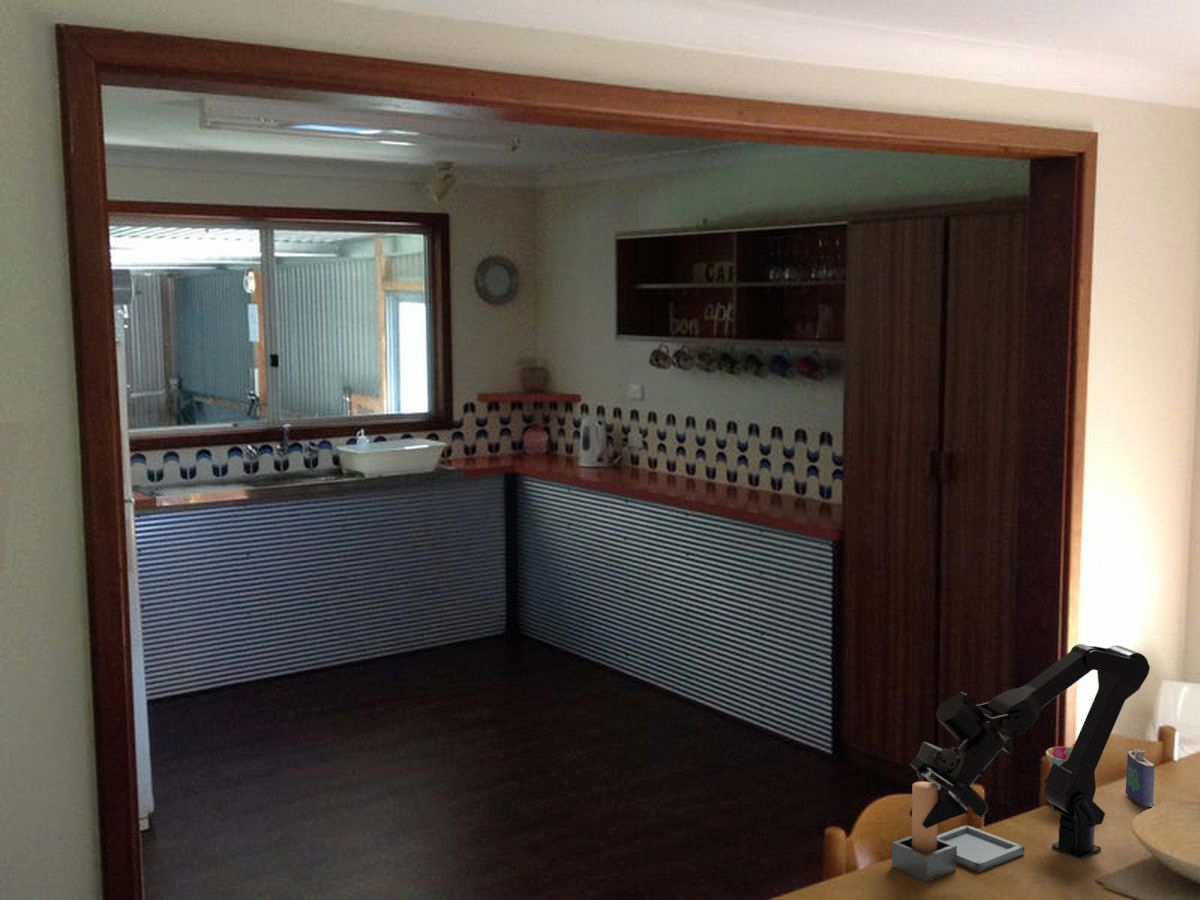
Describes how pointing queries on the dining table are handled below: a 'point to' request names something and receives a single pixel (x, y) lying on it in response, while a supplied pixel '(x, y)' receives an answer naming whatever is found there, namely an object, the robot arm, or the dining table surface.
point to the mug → (1058, 755)
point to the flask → (1140, 779)
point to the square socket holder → (924, 859)
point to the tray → (980, 847)
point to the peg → (923, 816)
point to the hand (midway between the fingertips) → (917, 821)
